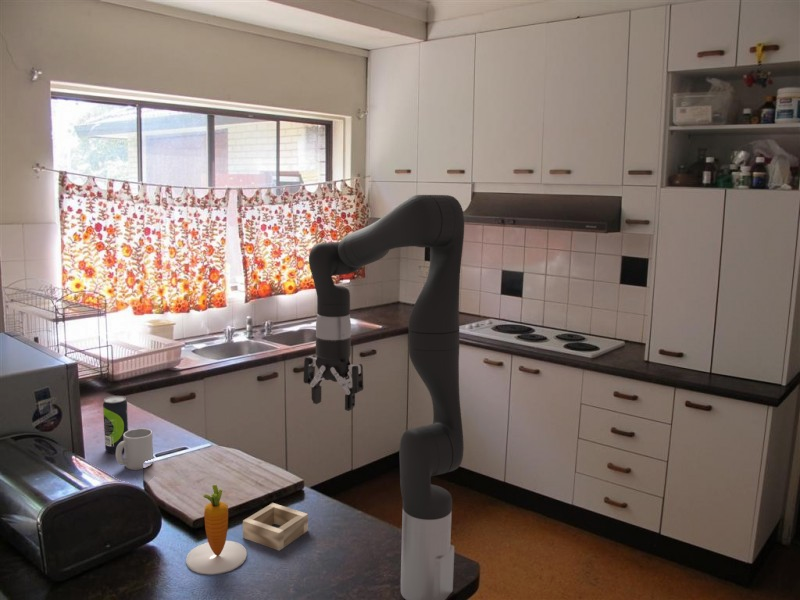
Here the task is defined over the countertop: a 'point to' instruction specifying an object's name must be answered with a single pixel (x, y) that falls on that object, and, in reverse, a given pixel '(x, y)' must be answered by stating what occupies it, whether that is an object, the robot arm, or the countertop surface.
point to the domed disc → (216, 558)
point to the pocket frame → (276, 538)
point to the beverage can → (115, 421)
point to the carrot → (216, 521)
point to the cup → (135, 448)
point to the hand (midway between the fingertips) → (332, 406)
